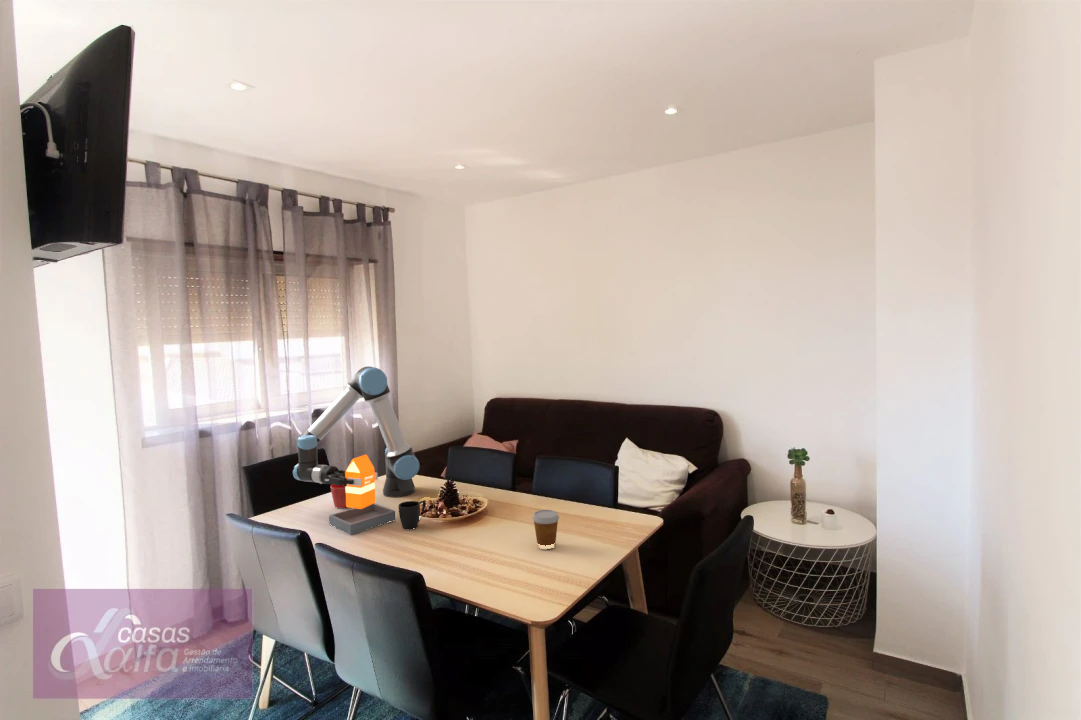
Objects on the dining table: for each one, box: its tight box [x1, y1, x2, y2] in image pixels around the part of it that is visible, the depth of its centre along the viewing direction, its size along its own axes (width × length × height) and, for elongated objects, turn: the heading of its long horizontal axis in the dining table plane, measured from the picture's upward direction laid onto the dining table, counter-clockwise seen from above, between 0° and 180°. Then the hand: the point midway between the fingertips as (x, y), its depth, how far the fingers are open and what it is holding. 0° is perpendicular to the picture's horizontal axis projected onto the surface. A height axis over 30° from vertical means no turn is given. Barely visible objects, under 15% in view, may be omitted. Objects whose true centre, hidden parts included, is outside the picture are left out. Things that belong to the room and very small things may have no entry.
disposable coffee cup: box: [532, 509, 560, 546], centre depth 187 cm, size 10×10×12 cm
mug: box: [398, 500, 427, 530], centre depth 210 cm, size 8×12×10 cm
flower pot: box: [329, 484, 346, 509], centre depth 238 cm, size 11×11×10 cm
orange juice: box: [345, 454, 376, 509], centre depth 215 cm, size 8×9×20 cm
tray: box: [328, 502, 397, 536], centre depth 216 cm, size 20×17×4 cm
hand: (369, 479), depth 213 cm, fingers closed on orange juice, 9 cm apart
